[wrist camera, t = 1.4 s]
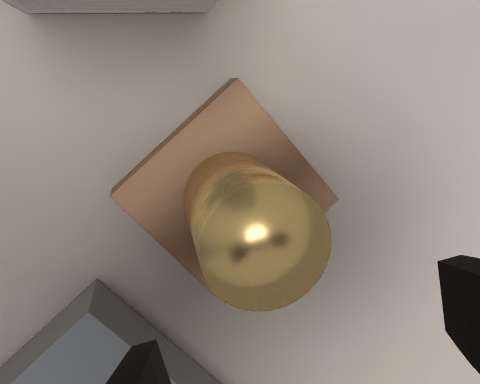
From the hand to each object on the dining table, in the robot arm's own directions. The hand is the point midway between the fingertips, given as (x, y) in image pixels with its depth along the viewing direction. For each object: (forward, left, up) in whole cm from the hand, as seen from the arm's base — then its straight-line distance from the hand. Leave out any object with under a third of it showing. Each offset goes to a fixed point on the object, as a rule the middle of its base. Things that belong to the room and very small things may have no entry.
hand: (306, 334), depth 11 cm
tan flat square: (-1, +1, -10) cm, 10 cm away
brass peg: (-1, +1, -9) cm, 9 cm away
